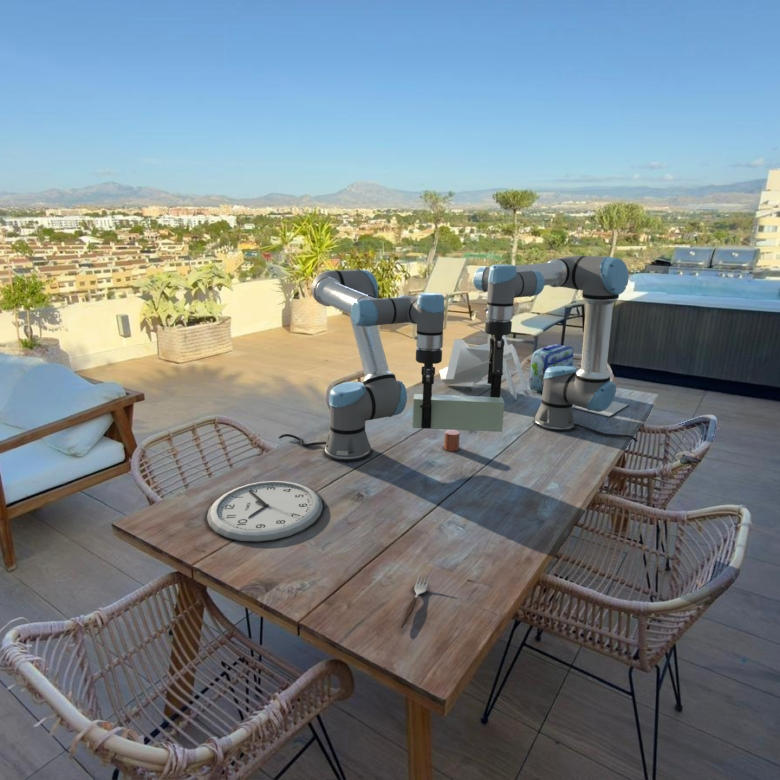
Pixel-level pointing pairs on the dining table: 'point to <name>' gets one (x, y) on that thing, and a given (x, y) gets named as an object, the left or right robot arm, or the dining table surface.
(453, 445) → the orange cylinder puck
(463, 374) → the white plastic object
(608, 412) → the invitation card
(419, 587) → the fork
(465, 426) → the beam
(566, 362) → the lunch box
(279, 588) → the dining table surface
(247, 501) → the wall clock
